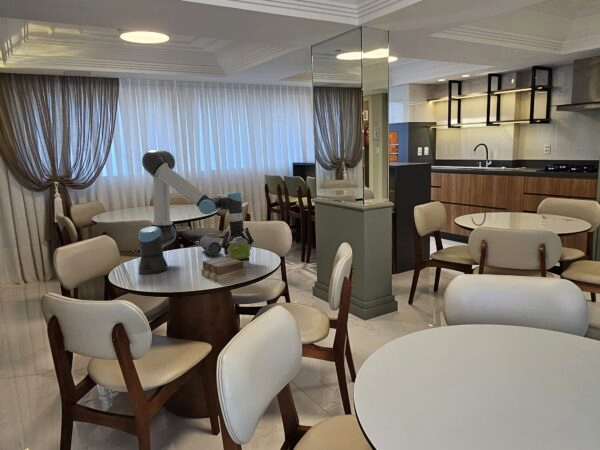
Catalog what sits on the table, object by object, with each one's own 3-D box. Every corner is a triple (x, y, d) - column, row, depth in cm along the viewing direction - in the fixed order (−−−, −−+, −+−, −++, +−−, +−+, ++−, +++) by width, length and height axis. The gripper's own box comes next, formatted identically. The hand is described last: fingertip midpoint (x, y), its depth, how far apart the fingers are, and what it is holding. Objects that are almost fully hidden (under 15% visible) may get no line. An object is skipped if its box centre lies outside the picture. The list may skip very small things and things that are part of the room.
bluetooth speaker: (223, 256, 264) (222, 240, 262) (208, 258, 260) (206, 241, 258) (213, 249, 284) (212, 234, 283) (199, 250, 280) (198, 235, 279)
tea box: (227, 262, 248) (226, 237, 246) (245, 260, 251) (243, 235, 249) (231, 269, 234) (230, 242, 231) (250, 266, 237) (248, 240, 234)
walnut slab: (203, 268, 224) (202, 261, 224) (226, 263, 233) (226, 256, 232) (219, 275, 211) (218, 267, 210) (243, 269, 220) (243, 261, 219)
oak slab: (201, 276, 225) (201, 268, 224) (227, 270, 234) (226, 263, 234) (219, 283, 211) (218, 275, 211) (245, 276, 221) (244, 269, 220)
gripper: (219, 224, 227) (222, 263, 231) (258, 217, 243) (260, 254, 247) (212, 222, 233) (215, 260, 237) (251, 216, 249) (253, 252, 253)
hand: (238, 257), depth 242 cm, fingers open, 13 cm apart
